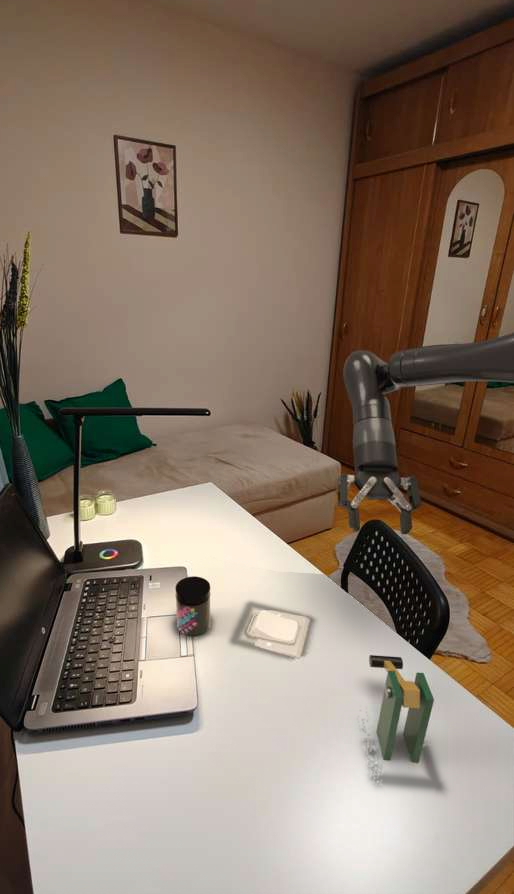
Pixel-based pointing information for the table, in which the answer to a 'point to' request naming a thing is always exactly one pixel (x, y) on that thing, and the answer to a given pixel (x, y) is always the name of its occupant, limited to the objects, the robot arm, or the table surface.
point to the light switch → (279, 632)
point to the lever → (407, 687)
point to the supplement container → (193, 606)
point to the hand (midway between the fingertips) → (381, 532)
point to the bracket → (414, 721)
